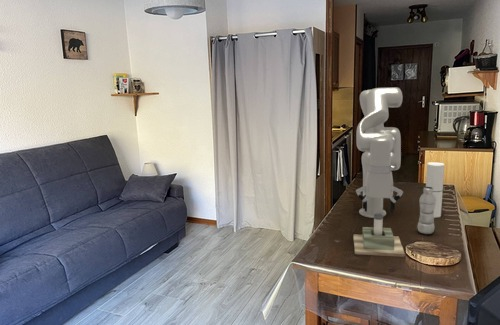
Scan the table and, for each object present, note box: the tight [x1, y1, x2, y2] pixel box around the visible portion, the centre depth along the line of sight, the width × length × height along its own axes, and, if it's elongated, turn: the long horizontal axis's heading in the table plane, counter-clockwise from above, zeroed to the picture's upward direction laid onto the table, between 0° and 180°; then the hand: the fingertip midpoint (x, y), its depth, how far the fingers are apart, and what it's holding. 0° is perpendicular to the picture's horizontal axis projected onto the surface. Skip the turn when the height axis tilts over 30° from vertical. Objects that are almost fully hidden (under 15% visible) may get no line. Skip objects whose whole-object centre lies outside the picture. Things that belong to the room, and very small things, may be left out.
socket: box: [352, 226, 406, 258], centre depth 151 cm, size 16×18×6 cm
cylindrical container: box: [425, 161, 445, 219], centre depth 178 cm, size 7×7×25 cm
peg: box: [373, 214, 384, 236], centre depth 150 cm, size 3×3×12 cm
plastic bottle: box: [417, 186, 436, 235], centre depth 159 cm, size 6×7×20 cm
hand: (378, 210), depth 149 cm, fingers open, 9 cm apart
